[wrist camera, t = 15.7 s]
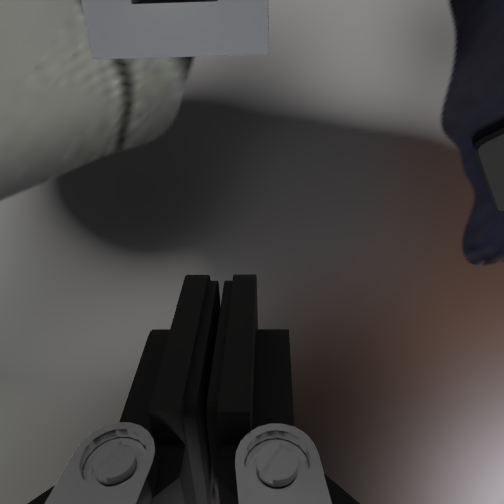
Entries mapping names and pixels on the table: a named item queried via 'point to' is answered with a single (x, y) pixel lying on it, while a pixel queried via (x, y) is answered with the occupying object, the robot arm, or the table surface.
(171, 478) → the robot arm
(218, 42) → the cartridge dock
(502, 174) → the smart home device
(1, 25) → the table surface
